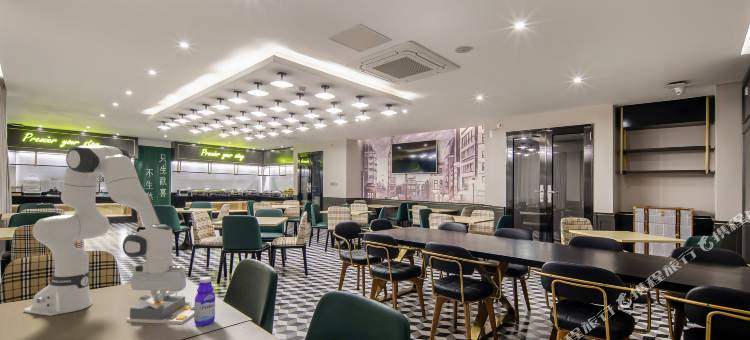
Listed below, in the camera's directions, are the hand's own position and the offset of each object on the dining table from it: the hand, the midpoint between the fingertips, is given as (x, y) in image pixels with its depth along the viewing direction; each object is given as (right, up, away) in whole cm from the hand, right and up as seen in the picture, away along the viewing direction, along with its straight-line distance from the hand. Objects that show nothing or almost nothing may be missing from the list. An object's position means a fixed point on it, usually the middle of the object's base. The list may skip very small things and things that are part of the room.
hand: (158, 301), depth 141 cm
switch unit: (+1, -7, +5) cm, 9 cm away
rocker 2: (-3, -1, +10) cm, 10 cm away
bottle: (+19, -8, -3) cm, 21 cm away
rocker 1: (-3, -1, 0) cm, 3 cm away
